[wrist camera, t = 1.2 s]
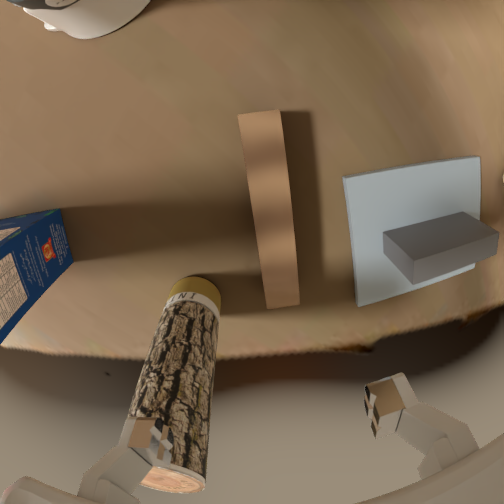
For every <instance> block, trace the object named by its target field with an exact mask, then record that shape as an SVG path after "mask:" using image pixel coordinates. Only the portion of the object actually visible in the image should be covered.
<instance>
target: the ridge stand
mask: <svg viewBox="0 0 504 504" xmlns="http://www.w3.org/2000/svg"><path fill="white" fill-rule="evenodd" d="M342 178H343V185H344V191H345V198H346V205H347V213H348V220H349V229H350V238H351V247H352V258H353V269H354V283H355V299H356V304H357V306H358V307H361V306H364V305H368V304H371V303H375V302H378V301H381V300H384V299H388V298H391V297H394V296H397V295H400V294H403V293H406V292H409V291H412V290H415V289H418V288H421V287H424V286H427V285H430V284H433V283H436V282H438V281H441V280H444V279H447V278H449V277H452V276H455V275H457V274H460V273H462V272H465V271H468V270H470V269H473V268H474V267H475V263H476V262H479V261H481V260H484V259H486V258H488V257H491V256H493V255H496V253H497V247H498V239H499V232H498V231H496V230H494V229H493V228H491V227H489V226H488V225H486V224H484V223H483V222H481V221H479V220H480V198H481V173H480V157H478V156H466V157H458V158H451V159H443V160H436V161H429V162H422V163H416V164H410V165H403V166H397V167H391V168H386V169H380V170H374V171H369V172H363V173H358V174H353V175H348V176H343V177H342Z"/></svg>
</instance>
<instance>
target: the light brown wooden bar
mask: <svg viewBox="0 0 504 504" xmlns="http://www.w3.org/2000/svg"><path fill="white" fill-rule="evenodd" d="M238 120H239V127H240V133H241V140H242V146H243V153H244V159H245V166H246V172H247V179H248V185H249V192H250V198H251V205H252V212H253V218H254V225H255V232H256V238H257V245H258V252H259V258H260V265H261V272H262V279H263V286H264V293H265V299H266V306H267V309H274V308H280V307H287V306H294V305H300V298H299V283H298V270H297V258H296V246H295V235H294V224H293V214H292V204H291V195H290V186H289V177H288V169H287V160H286V152H285V145H284V137H283V129H282V122H281V115H280V110H271V111H262V112H254V113H247V114H240V115H238Z"/></svg>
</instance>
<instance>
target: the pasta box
mask: <svg viewBox="0 0 504 504" xmlns="http://www.w3.org/2000/svg"><path fill="white" fill-rule="evenodd" d="M72 263H73V258H72V255H71V251H70V248H69V244H68V240H67V237H66V233H65V229H64V225H63V220H62V216H61V211H60V208H59V209H53V210H47V211H41V212H36V213H31V214H26V215H21V216H16V217H11V218H6V219H1V220H0V344H1V343H2V342H3V340H4V339H5V338H6V337H7V335H8V334H9V333H10V332H11V330H12V329H13V328H14V327H15V325H16V324H17V323H18V322H19V321H20V319H21V318H22V317H23V316H24V315H25V314H26V312H27V311H28V310H29V309H30V308H31V307H32V305H33V304H34V303H35V302H36V301H37V300H38V299H39V298H40V297H41V295H42V294H43V293H44V292H45V291H46V290H47V289H48V288H49V287H50V286H51V285H52V284H53V283H54V282H55V281H56V279H57V278H58V277H59V276H60V275H61V274H62V273H63V272H64V271H65V270H66V269H67V268H68V267H69V266H70V265H71V264H72Z"/></svg>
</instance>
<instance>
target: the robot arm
mask: <svg viewBox="0 0 504 504" xmlns="http://www.w3.org/2000/svg"><path fill="white" fill-rule="evenodd" d="M7 1H9V2H11V3H13V4H14V5H16V6H18V7H24V11H25V12H27V13H29V14H30V15H32V16H34V17H36V18H38V19H40V20H42V21H43V22H45V25H44V26H45V28H46V29H47V30H49V31H64V32H66V33H67V34H69V35H70V36H72V37H75V38H79V39H90V38H96V37H99V36H103V35H105V34H108V33H110V32H112V31H114V30H116V29H118V28H120V27H121V26H123V25H125V24H126V23H128V22H129V21H130V20H132V19H133V18H134V17H135V16H136V15H138V14H139V13H140V12H141V11H142V10H143V9H144V8H145V7H146V5H147V4H148V3H149V2H150V0H7ZM365 392H366V395H365V396H364V405H365V410H366V414H367V416H368V418H370V419H371V420H372V422H371V428H372V431H373V434H374V437H375V439H378V438H381V437H384V436H387V435H390V434H393V433H395V434H397V435H398V436H399V437H401V438H402V439H404V440H405V441H406V442H408V443H409V444H410V445H412V446H413V447H415V448H416V449H417V450H419V451H420V452H422V453H423V454H424V455H426V456H425V457H424V459H423V461H422V462H421V464H420V465H419V467H418V471H419V474H420V477H421V480H420V481H418V482H416V483H413V484H411V485H408V486H406V487H403V488H401V489H398V490H395V491H393V492H390V493H387V494H384V495H381V496H378V497H375V498H372V499H369V500H366V501H362V502H359V503H355V504H504V433H503V434H501V435H500V436H499V437H497V438H496V439H494V440H493V441H491V442H490V443H488V444H487V445H485V446H484V447H482V448H481V449H479V447H478V445H477V443H476V441H475V439H474V437H473V435H472V433H471V431H470V430H469V427H468V426H467V424H465V423H463V422H461V421H459V420H457V419H455V418H453V417H451V416H449V415H447V414H445V413H443V412H441V411H439V410H437V409H436V408H433V407H432V406H429V405H428V404H426V403H424V402H420V403H419V402H418V400H417V398H416V396H415V394H414V392H413V390H412V388H411V386H410V384H409V383H408V381H407V379H406V377H405V375H404V374H403V373H398V374H396V375H393V376H391V377H387V378H384V379H381V380H378V381H375V382H372V383H369V384H366V386H365ZM173 445H174V435H173V432H172V430H171V429H170V428H169V427H168V426H166V425H164V421H163V420H162V418H161V417H128V418H127V419H126V421H125V425H124V427H123V430H122V434H121V437H120V440H119V443H118V446H114V447H113V448H112V449H111V450H110V451H109V452H108V453H107V454H106V455H104V456H103V457H102V458H101V459H100V460H99V461H98V462H97V463H96V464H95V465H93V466H92V467H91V468H90V469H89V470H88V471H86V472H85V473H84V475H83V478H82V481H81V484H80V488H79V491H78V495H77V496H76V495H72V494H70V493H67V492H64V491H62V490H59V489H57V488H54V487H51V486H49V485H47V484H44V483H42V482H40V481H38V480H36V479H33V478H31V477H28V476H25V477H22V478H20V479H19V480H17V481H16V482H14V483H13V484H11V485H10V486H9V487H7V489H6V490H5V491H4V493H3V494H2V497H1V498H0V504H140V501H139V499H137V498H135V497H134V496H132V495H131V494H132V493H133V491H134V490H135V489H136V487H137V486H138V485H139V484H140V483H141V481H142V480H143V479H144V478H145V477H146V475H147V474H148V473H149V471H150V470H151V469H152V468H153V467H152V466H156V467H170V462H171V457H172V454H171V452H170V451H169V450H170V449H171V448H172V447H173Z"/></svg>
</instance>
